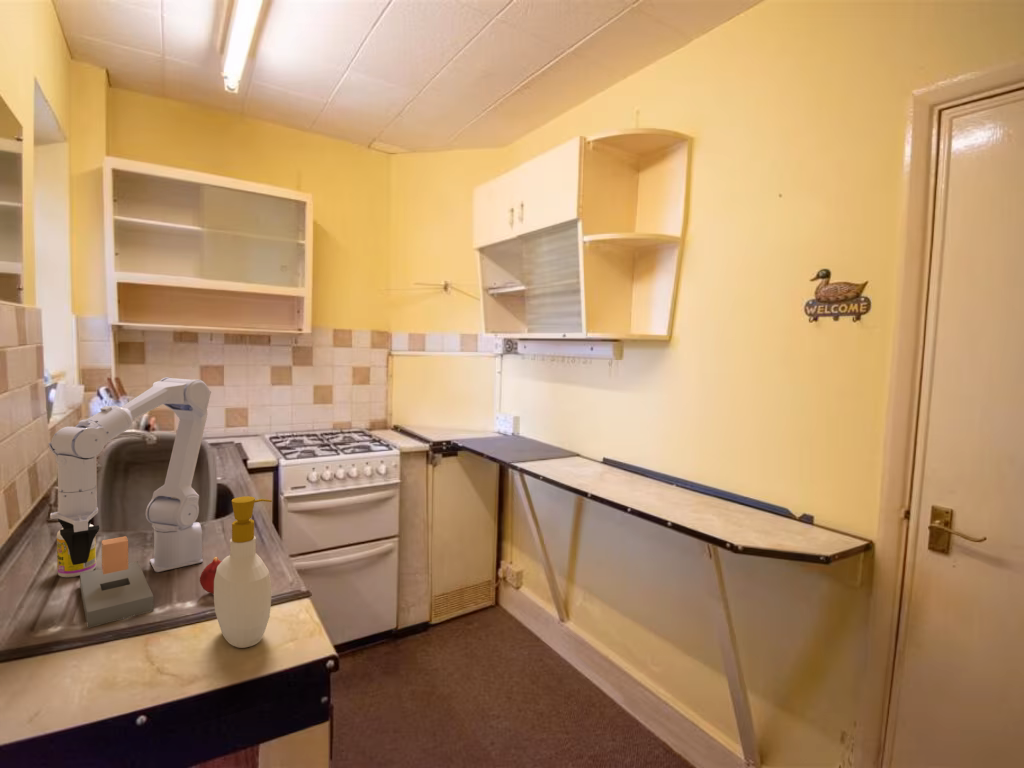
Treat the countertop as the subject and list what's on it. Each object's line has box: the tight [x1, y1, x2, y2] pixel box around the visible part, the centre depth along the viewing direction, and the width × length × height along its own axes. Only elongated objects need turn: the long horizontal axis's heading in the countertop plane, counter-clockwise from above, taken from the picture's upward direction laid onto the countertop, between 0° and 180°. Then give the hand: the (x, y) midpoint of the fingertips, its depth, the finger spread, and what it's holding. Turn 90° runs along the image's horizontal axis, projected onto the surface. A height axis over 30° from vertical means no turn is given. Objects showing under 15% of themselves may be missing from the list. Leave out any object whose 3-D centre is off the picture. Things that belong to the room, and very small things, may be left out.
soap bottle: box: [213, 495, 273, 649], centre depth 93 cm, size 14×9×26 cm, turn 48°
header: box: [79, 560, 154, 629], centre depth 104 cm, size 10×20×3 cm, turn 43°
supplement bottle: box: [56, 523, 97, 578], centre depth 114 cm, size 7×7×13 cm
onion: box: [199, 556, 223, 595], centre depth 108 cm, size 6×6×8 cm
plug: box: [101, 535, 129, 574], centre depth 104 cm, size 4×3×6 cm
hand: (78, 556), depth 100 cm, fingers open, 7 cm apart
